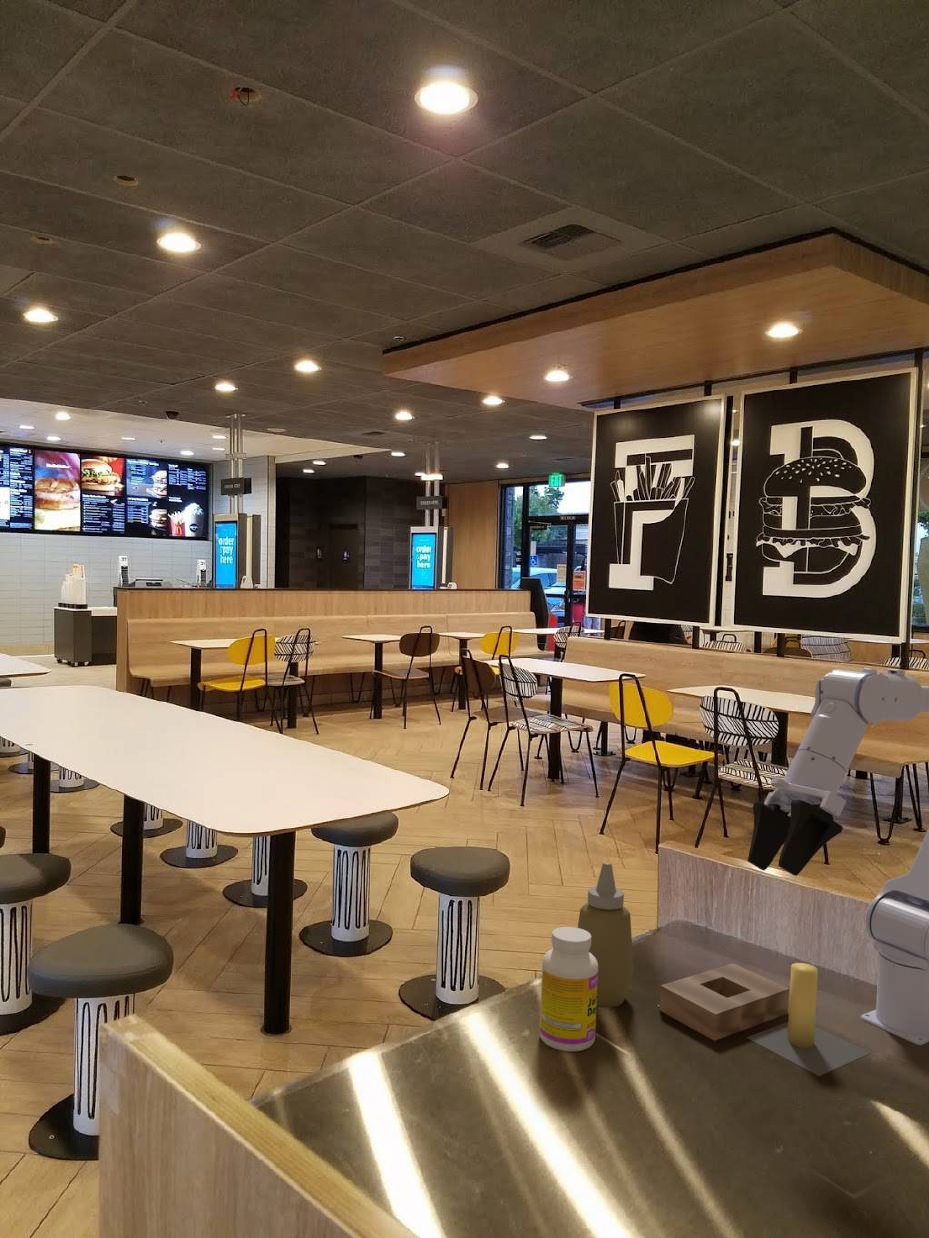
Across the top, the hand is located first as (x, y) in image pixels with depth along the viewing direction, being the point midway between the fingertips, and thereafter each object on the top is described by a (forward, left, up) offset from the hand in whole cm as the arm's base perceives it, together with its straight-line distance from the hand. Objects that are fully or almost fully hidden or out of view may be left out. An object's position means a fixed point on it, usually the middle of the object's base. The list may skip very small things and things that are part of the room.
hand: (771, 868), depth 102 cm
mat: (-10, -1, -23) cm, 25 cm away
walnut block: (-8, -12, -23) cm, 27 cm away
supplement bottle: (+14, -17, -24) cm, 32 cm away
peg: (-10, -2, -23) cm, 25 cm away
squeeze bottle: (+3, -23, -24) cm, 33 cm away
